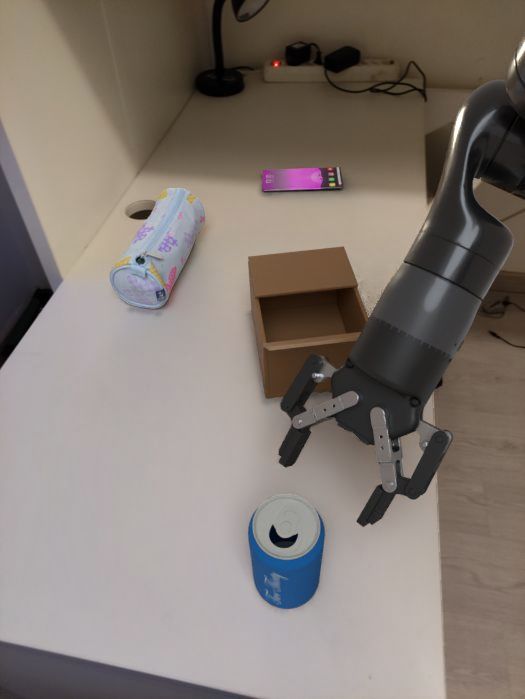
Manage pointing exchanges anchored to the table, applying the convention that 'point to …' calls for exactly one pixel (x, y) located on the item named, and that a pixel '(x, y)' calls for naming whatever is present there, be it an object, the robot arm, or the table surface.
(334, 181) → the smartphone
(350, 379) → the robot arm
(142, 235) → the pencil case
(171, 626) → the table surface
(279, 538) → the beverage can
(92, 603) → the table surface
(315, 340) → the flap
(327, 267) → the carton
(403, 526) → the table surface
